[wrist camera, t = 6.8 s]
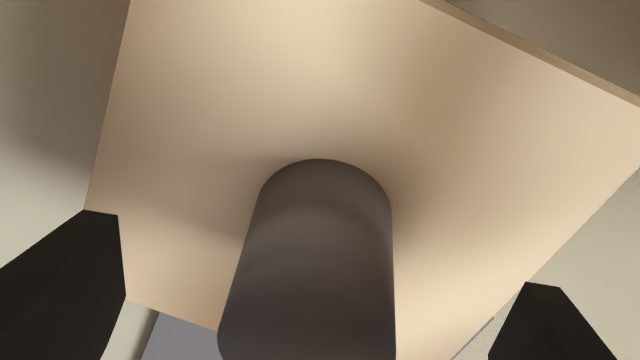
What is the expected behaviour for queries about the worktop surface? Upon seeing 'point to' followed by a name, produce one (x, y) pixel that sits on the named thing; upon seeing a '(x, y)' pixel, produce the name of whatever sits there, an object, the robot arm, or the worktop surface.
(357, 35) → the lid
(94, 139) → the worktop surface
